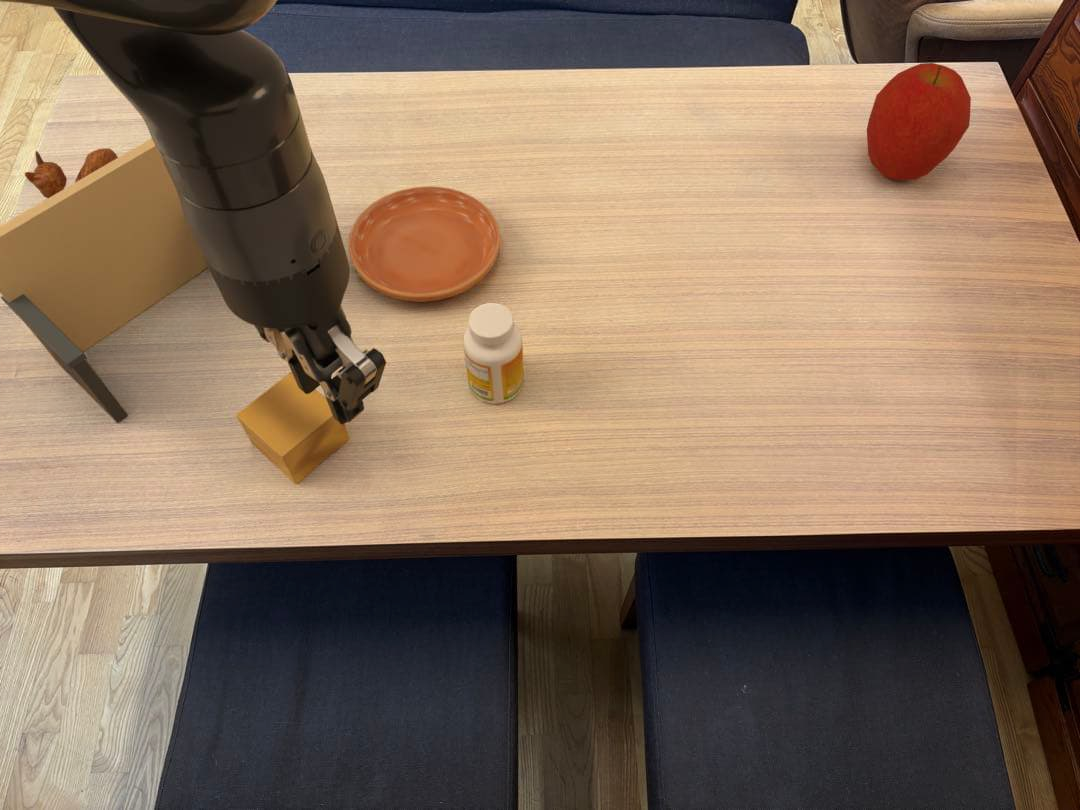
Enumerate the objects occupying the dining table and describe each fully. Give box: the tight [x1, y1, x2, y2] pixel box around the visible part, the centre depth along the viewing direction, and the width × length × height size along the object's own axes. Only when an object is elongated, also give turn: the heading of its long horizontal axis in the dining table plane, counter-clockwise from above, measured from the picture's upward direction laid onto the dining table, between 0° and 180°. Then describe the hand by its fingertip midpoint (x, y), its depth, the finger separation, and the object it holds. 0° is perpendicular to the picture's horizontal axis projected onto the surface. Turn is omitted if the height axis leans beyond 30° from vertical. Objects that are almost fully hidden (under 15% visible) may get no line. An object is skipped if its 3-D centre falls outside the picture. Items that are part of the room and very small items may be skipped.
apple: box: [866, 62, 972, 182], centre depth 93 cm, size 10×10×14 cm
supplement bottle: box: [462, 302, 525, 405], centre depth 79 cm, size 5×5×10 cm
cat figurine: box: [24, 147, 119, 199], centre depth 90 cm, size 18×7×14 cm, turn 179°
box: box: [235, 371, 351, 485], centre depth 77 cm, size 6×6×5 cm
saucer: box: [347, 185, 501, 303], centre depth 91 cm, size 16×16×3 cm
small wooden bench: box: [0, 137, 209, 424], centre depth 80 cm, size 11×21×16 cm, turn 138°
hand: (332, 398), depth 61 cm, fingers open, 3 cm apart
